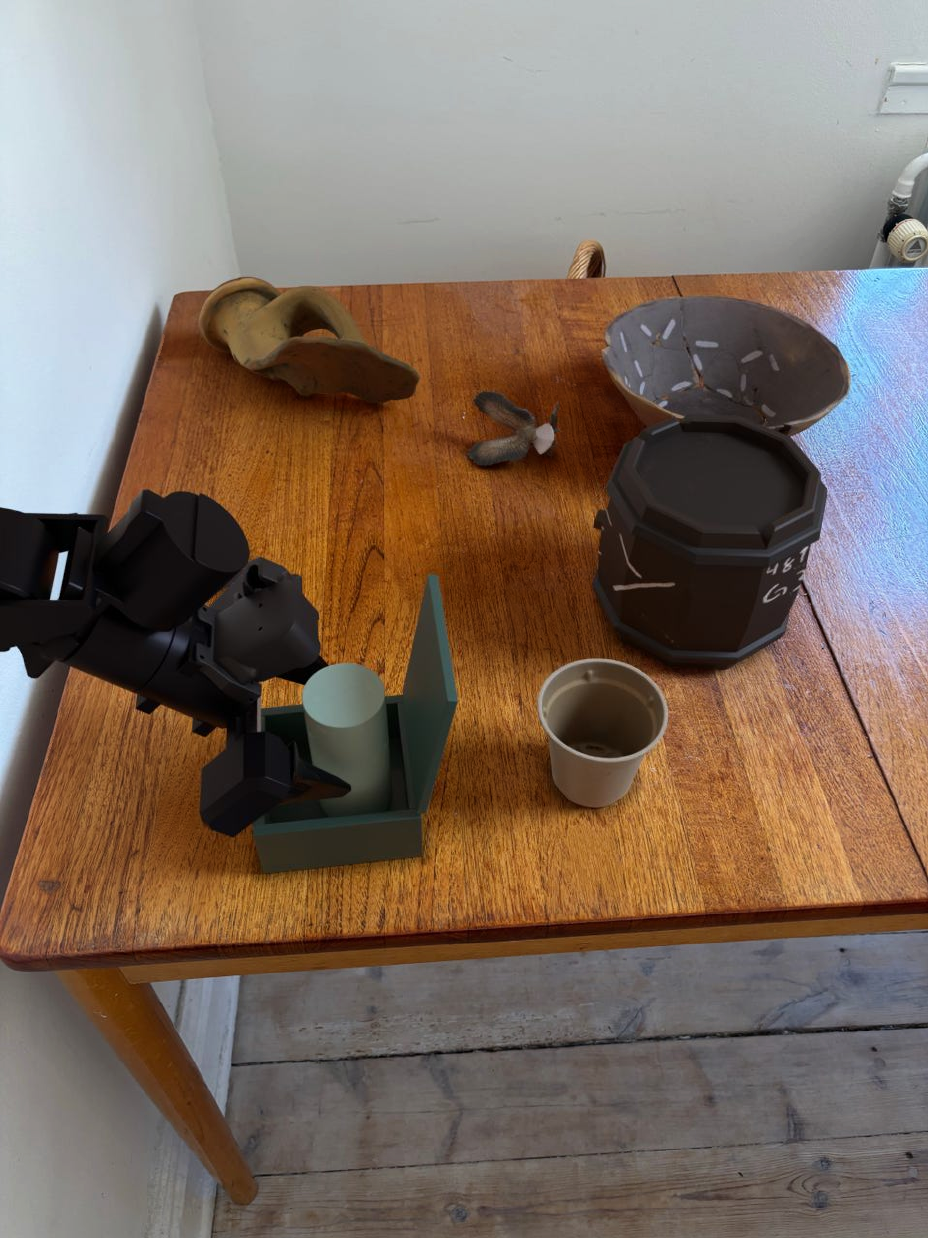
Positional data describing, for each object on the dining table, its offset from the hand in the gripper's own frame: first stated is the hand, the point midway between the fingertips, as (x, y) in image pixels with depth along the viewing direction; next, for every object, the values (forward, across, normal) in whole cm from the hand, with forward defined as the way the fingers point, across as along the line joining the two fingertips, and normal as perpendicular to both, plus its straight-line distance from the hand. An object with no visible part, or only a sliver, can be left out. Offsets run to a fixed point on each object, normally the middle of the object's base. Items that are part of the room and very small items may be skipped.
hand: (343, 737), depth 71 cm
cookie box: (+5, 0, +6) cm, 8 cm away
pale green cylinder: (+5, 0, +5) cm, 7 cm away
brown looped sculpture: (+5, +56, +7) cm, 56 cm away
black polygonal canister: (+28, +17, -16) cm, 36 cm away
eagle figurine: (+20, +41, -8) cm, 46 cm away
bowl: (+35, +42, -23) cm, 59 cm away
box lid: (+1, 0, -7) cm, 7 cm away
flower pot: (+19, 0, -7) cm, 20 cm away
